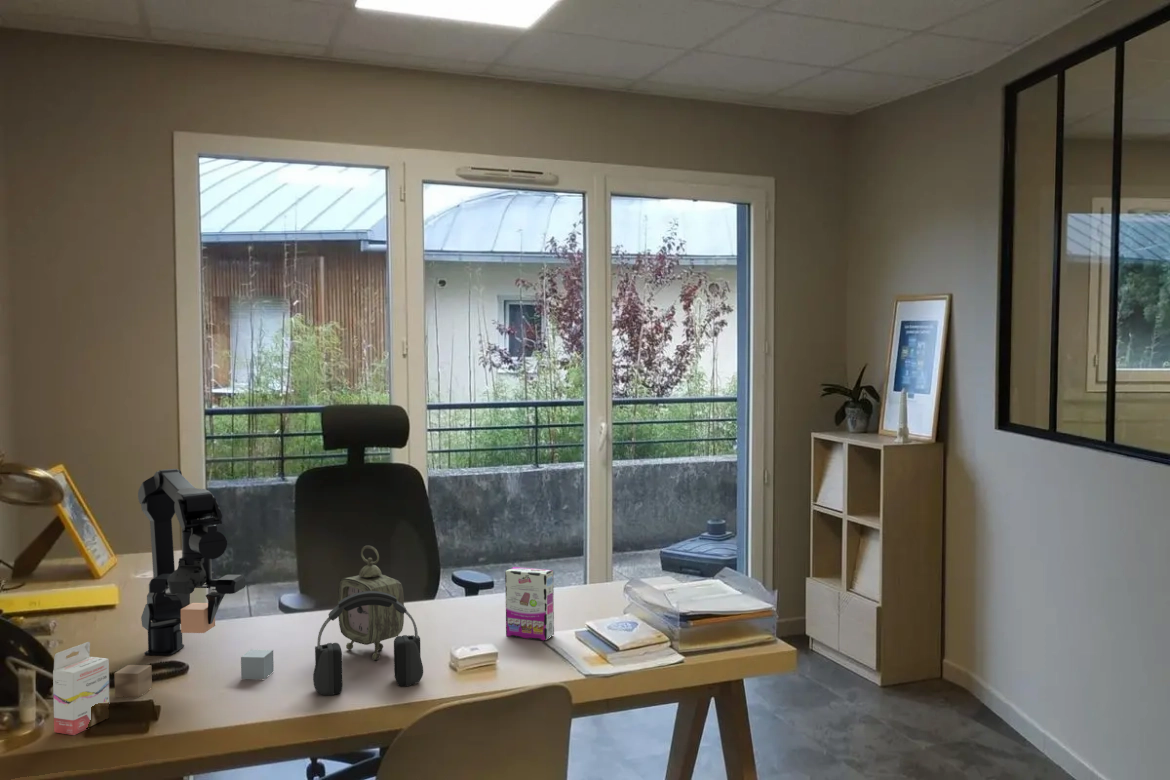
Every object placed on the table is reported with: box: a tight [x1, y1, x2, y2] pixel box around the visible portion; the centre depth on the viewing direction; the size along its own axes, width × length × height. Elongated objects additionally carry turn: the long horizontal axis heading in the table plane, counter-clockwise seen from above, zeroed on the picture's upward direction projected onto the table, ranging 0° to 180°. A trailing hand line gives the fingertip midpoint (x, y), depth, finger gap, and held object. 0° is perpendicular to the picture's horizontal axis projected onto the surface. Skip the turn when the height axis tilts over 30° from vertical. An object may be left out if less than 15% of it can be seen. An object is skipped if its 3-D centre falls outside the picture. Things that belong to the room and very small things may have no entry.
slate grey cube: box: [240, 648, 275, 680], centre depth 198 cm, size 5×5×5 cm
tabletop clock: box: [337, 545, 405, 661], centre depth 212 cm, size 14×9×25 cm, turn 47°
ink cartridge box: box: [52, 641, 110, 736], centre depth 172 cm, size 9×5×15 cm, turn 163°
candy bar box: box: [504, 566, 555, 642], centre depth 224 cm, size 11×5×16 cm, turn 68°
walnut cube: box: [114, 664, 153, 698], centre depth 188 cm, size 5×5×5 cm
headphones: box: [312, 591, 424, 696], centre depth 191 cm, size 22×6×20 cm, turn 109°
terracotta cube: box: [180, 602, 216, 634], centre depth 195 cm, size 5×5×5 cm
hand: (198, 623), depth 196 cm, fingers closed on terracotta cube, 5 cm apart
